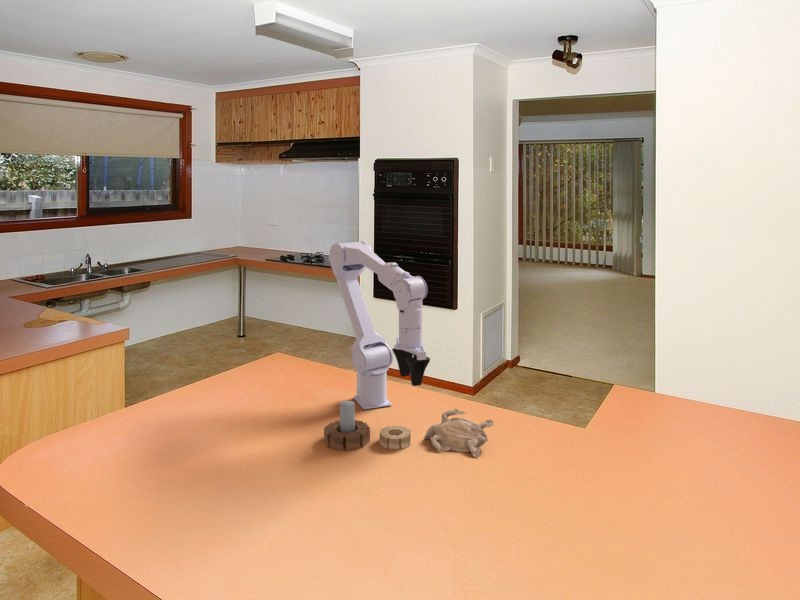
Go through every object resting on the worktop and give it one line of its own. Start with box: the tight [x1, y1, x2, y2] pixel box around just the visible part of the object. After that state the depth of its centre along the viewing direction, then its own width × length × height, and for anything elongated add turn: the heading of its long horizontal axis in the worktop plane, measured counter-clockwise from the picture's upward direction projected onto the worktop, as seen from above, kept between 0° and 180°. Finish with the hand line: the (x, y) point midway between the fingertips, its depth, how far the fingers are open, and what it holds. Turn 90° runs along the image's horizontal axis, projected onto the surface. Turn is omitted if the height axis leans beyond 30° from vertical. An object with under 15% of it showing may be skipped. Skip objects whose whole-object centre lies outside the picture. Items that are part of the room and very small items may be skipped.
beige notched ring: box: [379, 425, 412, 450], centre depth 137 cm, size 7×7×2 cm
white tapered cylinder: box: [339, 400, 356, 433], centre depth 138 cm, size 3×3×9 cm
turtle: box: [423, 408, 494, 458], centre depth 136 cm, size 16×10×10 cm, turn 88°
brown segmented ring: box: [323, 419, 371, 451], centre depth 138 cm, size 10×10×3 cm
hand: (410, 380), depth 148 cm, fingers open, 7 cm apart
